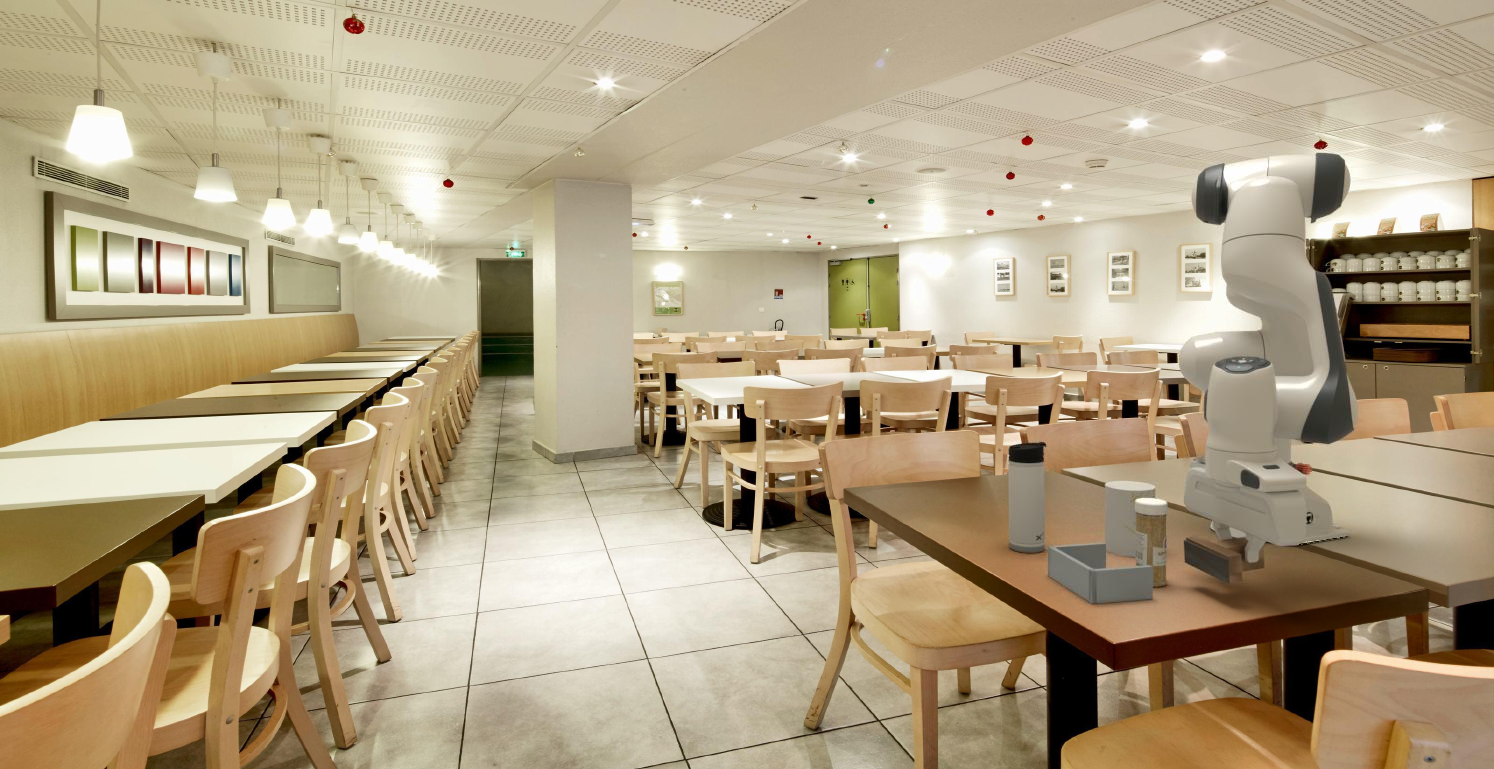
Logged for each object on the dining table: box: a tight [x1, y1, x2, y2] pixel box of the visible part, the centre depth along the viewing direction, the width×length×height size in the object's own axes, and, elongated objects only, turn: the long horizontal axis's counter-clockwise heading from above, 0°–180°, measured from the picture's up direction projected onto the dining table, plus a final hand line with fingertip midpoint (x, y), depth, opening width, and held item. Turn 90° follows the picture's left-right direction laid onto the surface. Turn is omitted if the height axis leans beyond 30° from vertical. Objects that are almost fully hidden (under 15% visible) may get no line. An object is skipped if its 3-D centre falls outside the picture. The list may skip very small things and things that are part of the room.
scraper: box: [1183, 535, 1265, 584], centre depth 112 cm, size 8×9×4 cm
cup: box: [1104, 480, 1156, 558], centre depth 134 cm, size 8×8×12 cm
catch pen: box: [1047, 542, 1154, 605], centre depth 117 cm, size 10×13×5 cm
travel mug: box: [1007, 441, 1047, 554], centre depth 137 cm, size 6×7×20 cm
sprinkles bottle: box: [1135, 497, 1169, 588], centre depth 118 cm, size 5×5×14 cm
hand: (1238, 555), depth 112 cm, fingers closed on scraper, 3 cm apart
